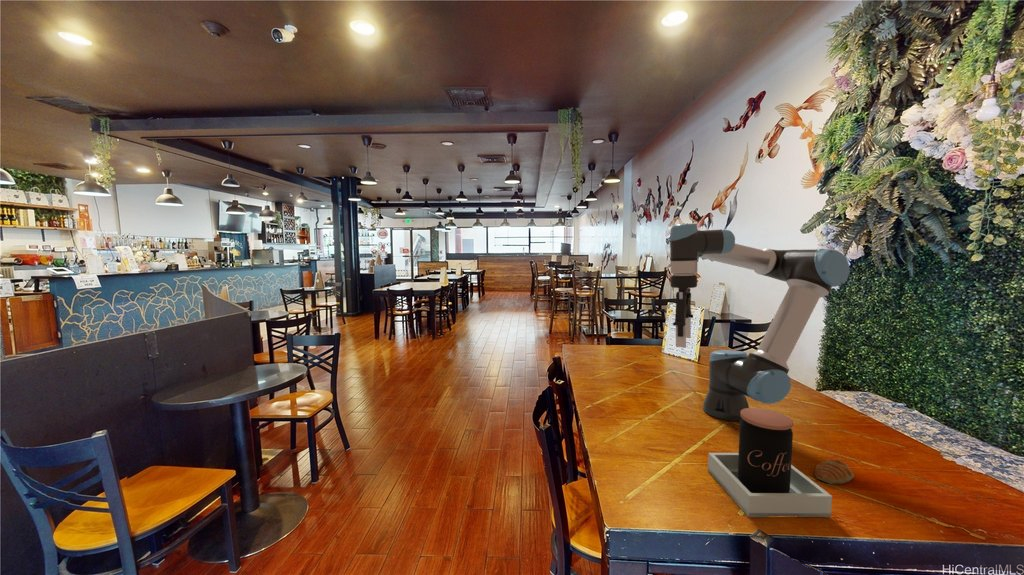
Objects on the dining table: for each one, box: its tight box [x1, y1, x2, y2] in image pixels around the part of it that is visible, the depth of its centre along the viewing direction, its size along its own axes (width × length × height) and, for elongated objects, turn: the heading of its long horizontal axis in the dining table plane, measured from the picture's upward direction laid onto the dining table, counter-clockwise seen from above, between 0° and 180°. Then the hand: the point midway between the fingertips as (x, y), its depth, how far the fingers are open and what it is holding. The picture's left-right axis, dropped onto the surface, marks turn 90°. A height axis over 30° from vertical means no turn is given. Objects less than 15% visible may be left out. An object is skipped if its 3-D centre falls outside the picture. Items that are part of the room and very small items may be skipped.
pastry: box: [814, 458, 855, 485], centre depth 97 cm, size 9×7×4 cm
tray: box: [707, 452, 833, 519], centre depth 91 cm, size 18×18×5 cm
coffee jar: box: [738, 407, 794, 493], centre depth 90 cm, size 11×11×18 cm
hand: (683, 342), depth 116 cm, fingers open, 13 cm apart
